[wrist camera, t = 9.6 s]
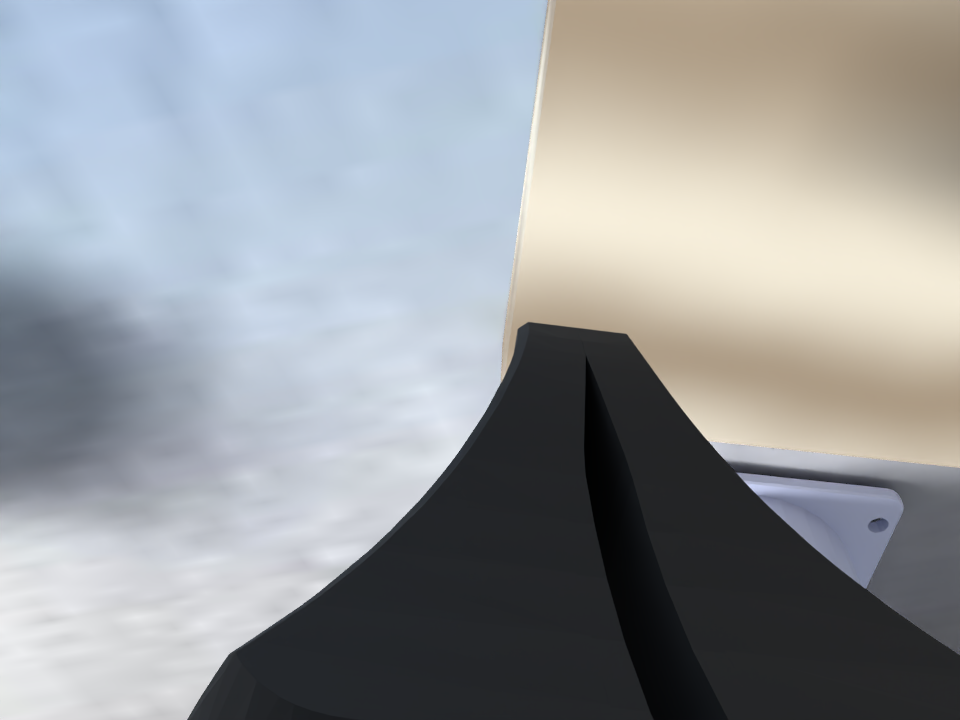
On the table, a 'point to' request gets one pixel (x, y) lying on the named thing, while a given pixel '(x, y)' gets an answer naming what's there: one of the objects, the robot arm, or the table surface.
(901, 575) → the table surface
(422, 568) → the robot arm
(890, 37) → the board
